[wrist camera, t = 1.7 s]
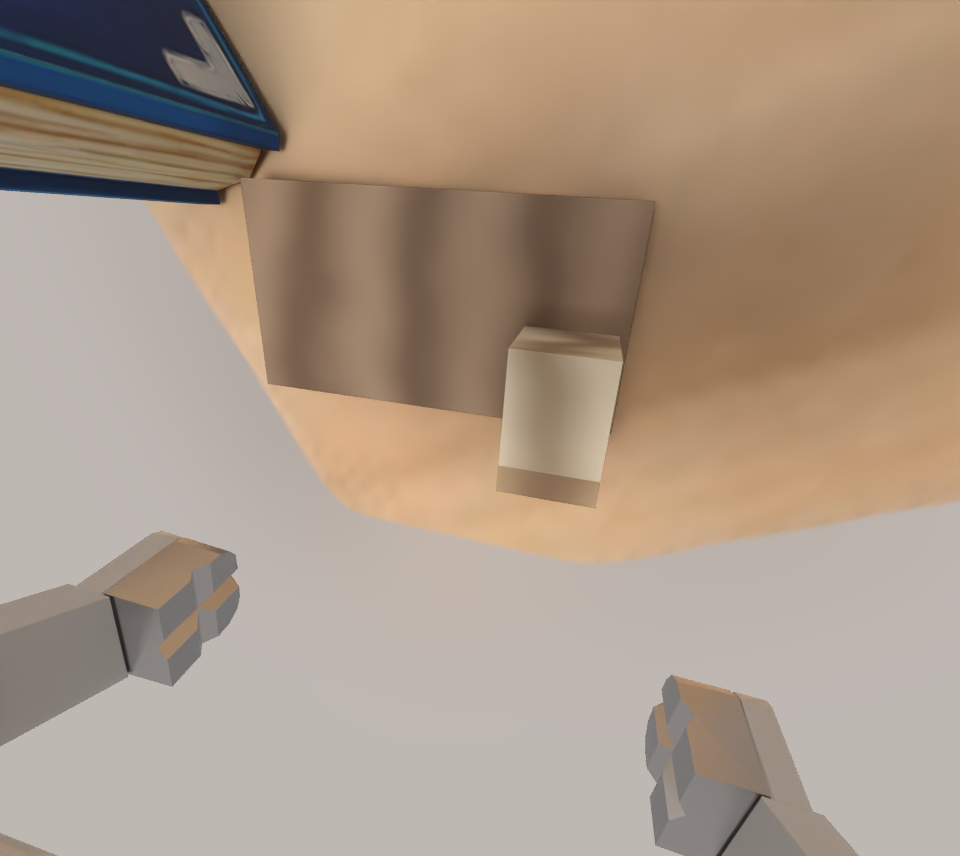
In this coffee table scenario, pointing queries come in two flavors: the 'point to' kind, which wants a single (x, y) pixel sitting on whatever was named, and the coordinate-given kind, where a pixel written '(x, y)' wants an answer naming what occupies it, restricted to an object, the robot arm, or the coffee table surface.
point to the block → (558, 414)
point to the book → (124, 101)
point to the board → (431, 284)
